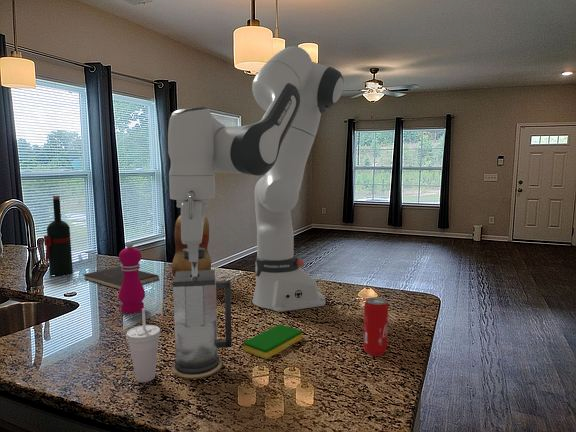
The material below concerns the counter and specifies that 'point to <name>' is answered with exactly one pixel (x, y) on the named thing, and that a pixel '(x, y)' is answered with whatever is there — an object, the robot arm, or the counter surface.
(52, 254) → the wine bottle
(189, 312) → the press carafe
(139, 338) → the smoothie
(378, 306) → the beverage can
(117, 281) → the hardcover book
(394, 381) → the counter surface
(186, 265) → the butternut squash
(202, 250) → the plunger
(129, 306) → the pepper mill
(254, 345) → the dish sponge
